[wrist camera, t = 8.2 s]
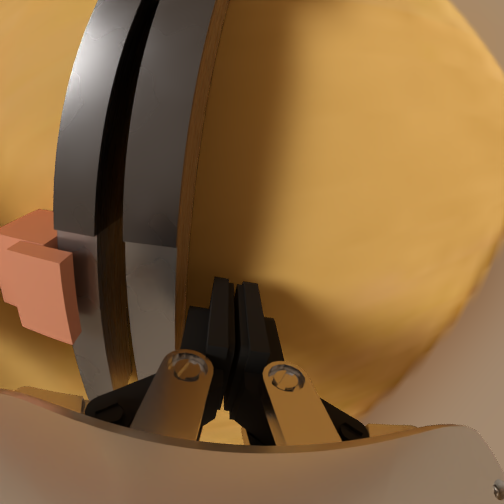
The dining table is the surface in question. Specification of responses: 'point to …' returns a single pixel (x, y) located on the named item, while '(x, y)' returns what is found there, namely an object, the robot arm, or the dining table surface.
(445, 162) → the dining table surface
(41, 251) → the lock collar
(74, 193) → the tongs fixed arm
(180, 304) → the tongs moving arm
